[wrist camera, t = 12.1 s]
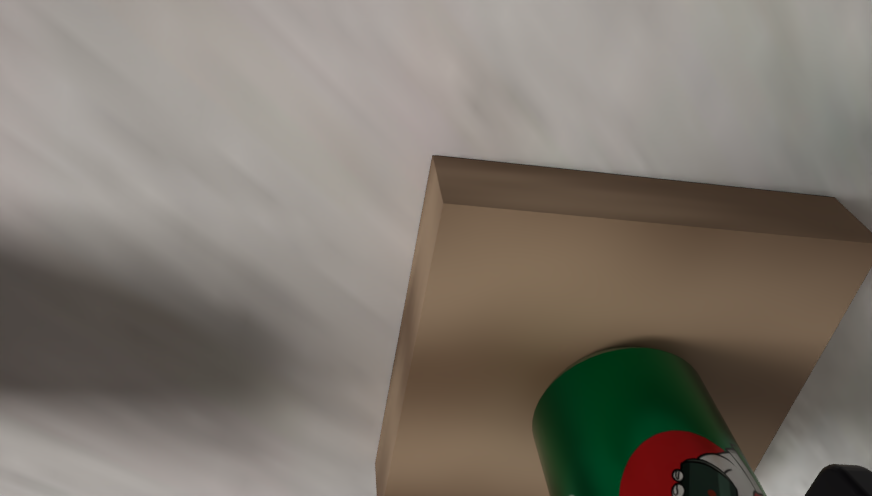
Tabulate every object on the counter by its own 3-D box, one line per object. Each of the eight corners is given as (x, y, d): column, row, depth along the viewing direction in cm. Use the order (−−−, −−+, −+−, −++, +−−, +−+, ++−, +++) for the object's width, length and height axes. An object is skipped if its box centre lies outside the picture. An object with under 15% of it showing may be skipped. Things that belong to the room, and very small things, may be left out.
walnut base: (693, 473, 29) (720, 530, 27) (375, 463, 27) (378, 524, 25) (834, 197, 23) (884, 244, 21) (432, 155, 21) (443, 203, 19)
